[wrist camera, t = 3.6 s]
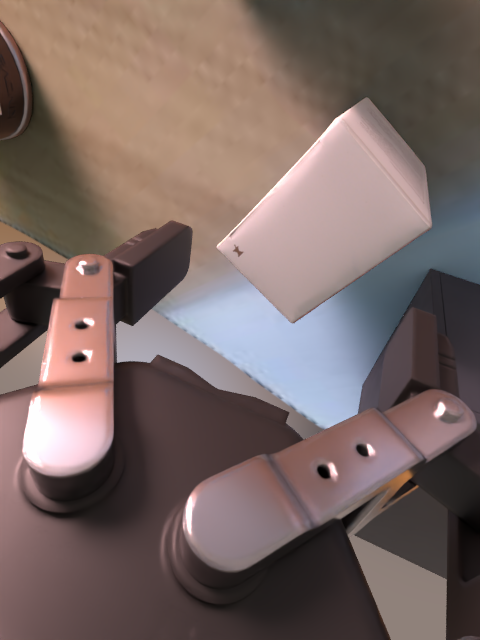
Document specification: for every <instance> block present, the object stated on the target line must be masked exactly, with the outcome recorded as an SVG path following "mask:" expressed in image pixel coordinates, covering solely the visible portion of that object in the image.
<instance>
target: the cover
mask: <svg viewBox="0 0 480 640" xmlns="http://www.w3.org/2000/svg"><path fill="white" fill-rule="evenodd" d="M412 307H414V308H417V309H420V310H422V311H425V312H428V313H431V314H433V315H436V320H437V332H438V333H441V334H444V335H446V336H447V337H448V339H449V340H450V342H451V343H452V345H453V347H454V350H455V361H456V370H457V377H458V386H459V395H460V400H462V401H463V402H464V403H465V404H466V405H467V406H468V407H469V408H470V409H471V411H472V412H473V414H474V416H475V418H476V422H477V426H476V429H477V430H478V431H479V432H480V285H479V284H476V283H473V282H469V281H466V280H463V279H460V278H457V277H454V276H451V275H448V274H445V273H442V272H439V271H436V270H433V269H430V270H429V272H428V274H427V276H426V277H425V279H424V281H423V282H422V284H421V286H420V288H419V289H418V291H417V293H416V294H415V296H414V298H413V300H412V301H411V303H410V305H409V306H408V308H407V310H406V312H405V313H404V315H403V317H402V318H401V320H400V322H399V324H398V325H397V327H396V329H395V330H394V332H393V334H392V336H391V337H390V339H389V341H388V342H387V344H386V346H385V347H384V349H383V351H382V353H381V354H380V356H379V358H378V359H377V361H376V363H375V365H374V366H373V368H372V370H371V371H370V373H369V375H368V377H367V378H366V380H365V382H364V383H363V386H362V392H361V398H360V404H359V410H358V414H359V413H361V412H363V411H365V410H367V409H370V408H372V407H378V401H379V393H380V385H381V377H382V369H383V362H384V356H385V353H386V350H387V347H388V345H389V343H390V341H391V340H392V338H393V336H394V335H395V333H396V331H397V329H398V328H399V326H400V324H401V323H402V321H403V319H404V318H405V316H406V314H407V313H408V311H409V310H410V309H411V308H412ZM447 524H448V509H447V508H446V507H445V506H443V505H442V504H441V503H439V502H438V501H437V500H435V499H434V498H433V497H432V496H430V495H429V494H428V493H426V492H425V491H424V490H422V489H421V488H420V487H418V488H416V489H415V490H413V491H412V492H410V493H409V494H408V495H406V496H405V497H403V498H402V499H400V500H399V501H397V502H396V503H395V504H393V505H392V506H390V507H389V508H387V509H386V510H385V511H383V512H382V513H380V514H379V515H377V516H376V517H375V518H373V519H372V520H371V521H370V522H369V523H367V524H366V525H365V526H364V527H363V528H362V529H361V530H359V531H358V532H357V533H356V534H354V535H355V536H357V537H359V538H361V539H363V540H366V541H368V542H370V543H372V544H374V545H376V546H378V547H381V548H382V549H385V550H387V551H389V552H391V553H393V554H395V555H397V556H399V557H401V558H404V559H406V560H408V561H410V562H412V563H414V564H416V565H418V566H420V567H422V568H425V569H427V570H429V571H431V572H433V573H435V574H437V575H439V576H441V577H443V578H445V579H447Z"/></svg>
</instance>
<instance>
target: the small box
mask: <svg viewBox="0 0 480 640" xmlns="http://www.w3.org/2000/svg"><path fill="white" fill-rule="evenodd" d="M431 227H432V219H431V211H430V203H429V193H428V184H427V175H426V168H425V166H424V164H423V163H422V162H421V161H420V159H419V158H418V157H417V156H416V154H415V153H414V152H413V151H412V149H411V148H410V147H409V146H408V145H407V143H406V142H405V141H404V140H403V139H402V137H401V136H400V135H399V134H398V133H397V131H396V130H395V129H394V128H393V127H392V125H391V124H390V123H389V122H388V120H387V119H386V118H385V117H384V116H383V114H382V113H381V112H380V111H379V110H378V109H377V107H376V106H375V105H374V104H373V103H372V102H371V100H370V99H369V98H368V97H365V98H364V99H362V100H361V101H360V102H358V103H357V104H356V105H354V106H353V107H351V108H350V109H348V110H347V111H346V112H344V113H343V114H341V115H340V116H339V117H337V118H336V119H335V120H334V121H333V122H332V124H331V125H330V126H329V127H328V128H327V130H326V131H325V132H324V133H323V134H322V136H321V137H320V138H319V139H318V140H317V141H316V143H315V144H314V145H313V146H312V147H311V148H310V149H309V150H308V151H307V152H306V153H305V154H304V156H303V157H302V158H301V159H300V160H299V161H298V162H297V163H296V164H295V165H294V166H293V167H292V168H291V169H290V170H289V172H288V173H287V174H286V175H285V176H284V177H283V178H282V179H281V180H280V181H279V182H278V183H277V184H276V185H275V186H274V188H273V189H272V190H271V191H270V192H269V193H268V194H267V195H266V196H265V197H264V198H263V199H262V200H261V201H260V202H259V203H258V204H257V206H256V207H255V208H254V209H253V210H252V211H251V212H250V213H249V214H248V215H247V216H246V217H245V218H244V219H243V220H242V221H241V222H240V223H239V224H238V225H237V226H236V227H235V228H234V229H233V230H232V232H231V233H230V234H229V235H228V236H227V237H225V238H224V239H223V240H222V241H221V242H220V243H219V244H218V245H217V249H218V250H219V251H220V252H221V253H222V254H223V255H224V256H225V257H226V258H227V259H228V260H229V261H230V262H231V263H232V264H233V265H234V266H235V267H236V268H237V269H238V270H239V271H240V272H241V273H242V274H243V275H244V276H245V277H246V278H247V279H248V280H249V281H250V282H251V283H252V284H253V285H254V286H255V287H256V288H257V289H258V290H259V291H260V292H261V293H262V294H263V295H264V296H265V297H266V298H267V299H268V300H269V301H270V302H271V303H272V304H273V305H274V306H275V307H276V308H277V309H278V310H279V311H280V312H281V313H282V314H283V315H284V316H285V317H286V318H287V319H288V320H289V321H290V322H291V323H295V322H296V321H297V320H299V319H300V318H302V317H303V316H305V315H306V314H308V313H309V312H311V311H312V310H313V309H315V308H316V307H318V306H319V305H320V304H322V303H323V302H325V301H326V300H328V299H329V298H331V297H332V296H334V295H335V294H337V293H338V292H339V291H341V290H342V289H344V288H345V287H347V286H348V285H350V284H351V283H352V282H354V281H355V280H357V279H358V278H360V277H361V276H363V275H364V274H365V273H367V272H368V271H370V270H371V269H373V268H374V267H376V266H377V265H378V264H380V263H381V262H383V261H384V260H386V259H387V258H389V257H390V256H392V255H393V254H395V253H396V252H398V251H399V250H400V249H402V248H403V247H405V246H406V245H408V244H409V243H411V242H412V241H413V240H415V239H416V238H418V237H419V236H421V235H422V234H424V233H425V232H427V231H429V230H430V229H431Z"/></svg>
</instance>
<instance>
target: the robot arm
mask: <svg viewBox="0 0 480 640" xmlns="http://www.w3.org/2000/svg"><path fill="white" fill-rule="evenodd" d="M32 104H33V100H32V89H31V83H30V78H29V75H28V71H27V68H26V65H25V62H24V60H23V57H22V55H21V53H20V50H19V48H18V47H17V45H16V43H15V41H14V39H13V38H12V36H11V34H10V33H9V31H8V30H7V28H6V27H5V26H4V24H3V23H2V22H1V21H0V140H6V139H11V138H14V137H17V136H19V135H20V134H22V133H23V132H24V131H25V129H26V128H27V126H28V124H29V122H30V118H31V114H32ZM191 244H192V228H191V227H189V226H186V225H183V224H181V223H178V222H175V221H170V222H168V223H167V224H165V225H163V226H162V227H160V228H159V229H156V228H155V229H151V230H147V231H143V232H141V233H139V234H138V235H136V236H135V237H133V239H132V238H131V239H130V240H128V241H127V242H126V243H123V244H122V245H120V246H119V247H117V248H115V249H114V250H112V251H111V252H109V253H107V254H106V255H104V256H101V255H96V254H82V255H77V256H74V257H72V258H70V259H69V260H68V261H67V262H66V263H65V264H64V263H57V262H51V261H46V260H44V259H43V253H42V250H41V248H40V247H39V246H37V245H35V244H33V243H29V242H9V243H4V244H1V245H0V298H2V297H4V300H5V304H6V307H7V308H6V309H4V310H3V311H1V312H0V368H1V367H2V366H3V365H4V364H6V363H7V362H8V361H10V360H11V359H12V358H13V357H15V356H16V355H17V354H18V353H20V352H21V351H22V350H23V349H24V348H26V347H27V346H28V345H29V344H31V343H32V342H33V341H34V340H35V339H37V338H38V337H39V336H40V335H42V334H43V333H44V332H45V331H47V330H48V332H47V338H46V343H45V349H44V355H43V360H42V366H41V371H40V377H39V383H38V384H37V385H34V386H30V387H26V388H23V389H19V390H16V391H12V392H9V393H5V394H1V395H0V640H391V639H390V636H389V634H388V632H387V629H386V627H385V624H384V622H383V619H382V617H381V615H380V613H379V610H378V608H377V605H376V602H375V600H374V598H373V595H372V593H371V590H370V588H369V586H368V583H367V581H366V578H365V576H364V574H363V571H362V569H361V566H360V564H359V561H358V559H357V557H356V554H355V552H354V549H353V547H352V545H351V542H350V540H349V538H350V537H351V536H353V535H354V534H356V533H357V532H358V531H359V530H361V529H362V528H363V527H364V526H365V525H366V524H367V523H369V522H370V521H371V520H372V519H373V518H375V517H376V516H377V515H379V514H380V513H382V512H383V511H385V510H386V509H387V508H389V507H390V506H392V505H393V504H395V503H396V502H397V501H399V500H400V499H402V498H403V497H405V496H406V495H408V494H409V493H410V492H412V491H413V490H415V489H416V488H418V487H420V488H421V489H422V490H424V491H425V492H426V493H428V494H429V495H430V496H432V497H433V498H434V499H435V500H437V501H438V502H439V503H441V504H442V505H443V506H445V507H446V508H447V509H448V524H447V610H446V615H447V616H446V640H480V432H479V431H478V430H477V429H476V426H477V422H476V418H475V416H474V414H473V412H472V411H471V409H470V408H469V407H468V406H467V405H466V404H465V403H464V402H463V401H462V400H460V395H459V386H458V377H457V370H456V361H455V350H454V347H453V345H452V343H451V342H450V340H449V339H448V337H447V336H446V335H444V334H441V333H438V332H437V320H436V315H433V314H431V313H428V312H425V311H422V310H420V309H417V308H414V307H412V308H411V309H410V310H409V311H408V313H407V314H406V316H405V318H404V319H403V321H402V323H401V324H400V326H399V328H398V329H397V331H396V333H395V335H394V336H393V338H392V340H391V341H390V343H389V345H388V347H387V350H386V353H385V356H384V362H383V369H382V377H381V385H380V393H379V401H378V407H372V408H370V409H367V410H365V411H363V412H361V413H359V414H357V415H355V416H353V417H351V418H349V419H347V420H344V421H342V422H340V423H338V424H336V425H334V426H332V427H330V428H328V429H326V430H324V431H321V432H319V433H317V434H315V435H313V436H311V437H309V438H307V439H305V440H303V438H302V437H301V436H300V435H299V434H298V433H297V432H296V431H295V430H293V428H291V427H290V426H289V425H287V424H286V420H287V417H288V415H289V412H287V411H285V410H283V409H280V408H278V407H276V406H274V405H271V404H269V403H267V402H264V401H262V400H260V399H257V398H256V397H251V396H246V395H242V394H237V393H232V392H228V391H223V390H219V389H217V388H215V387H213V386H212V385H211V384H209V383H208V382H207V381H205V380H204V379H203V378H201V377H200V376H199V375H197V374H196V373H194V372H193V371H192V370H190V369H189V368H187V367H185V366H183V365H180V364H178V363H176V362H174V361H171V360H169V359H167V358H164V357H162V356H160V355H157V356H156V357H155V358H154V359H153V360H152V362H151V363H147V362H135V361H133V362H131V361H129V362H120V363H117V352H116V324H117V323H118V322H119V321H122V322H124V323H127V324H129V325H131V326H133V325H134V324H135V323H137V322H138V321H139V320H140V319H141V318H142V317H143V316H144V315H145V314H146V313H147V312H148V311H149V310H151V309H152V308H153V307H154V306H155V305H156V304H157V303H158V302H159V301H160V300H161V299H162V298H163V297H165V296H166V295H167V294H168V293H169V292H170V291H171V290H172V289H173V288H174V287H175V286H176V285H177V284H179V283H180V282H181V281H182V280H183V279H184V277H185V276H186V274H187V271H188V268H189V263H190V254H191Z"/></svg>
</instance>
